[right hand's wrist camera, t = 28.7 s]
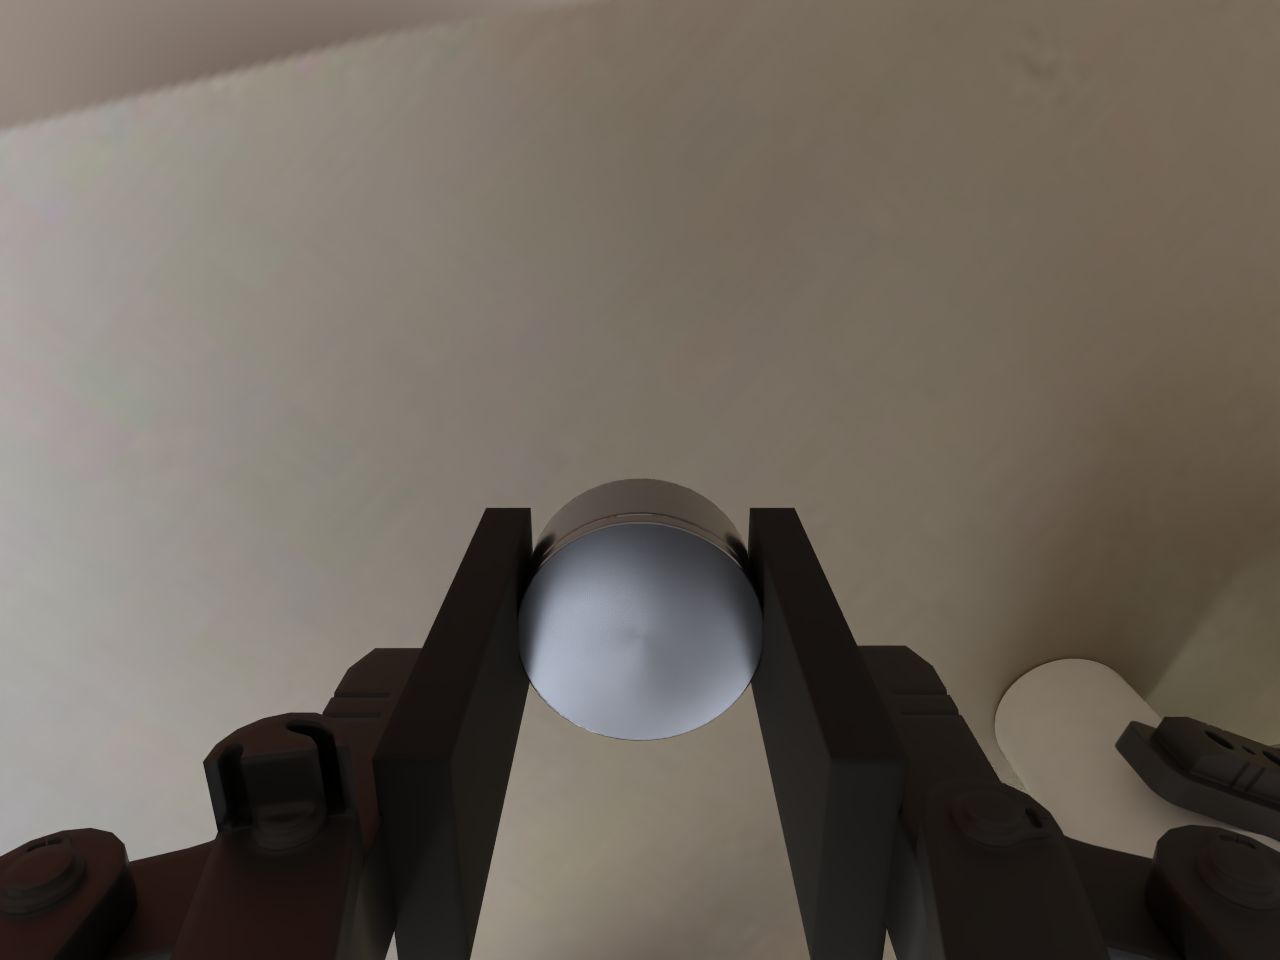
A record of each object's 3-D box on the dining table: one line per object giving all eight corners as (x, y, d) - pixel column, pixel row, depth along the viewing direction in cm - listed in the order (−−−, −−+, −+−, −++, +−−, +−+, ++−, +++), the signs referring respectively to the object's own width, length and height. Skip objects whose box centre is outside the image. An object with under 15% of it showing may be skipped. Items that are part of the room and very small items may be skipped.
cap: (760, 482, 14) (778, 527, 12) (740, 678, 15) (753, 746, 14) (530, 471, 14) (514, 515, 12) (529, 670, 15) (514, 737, 13)
